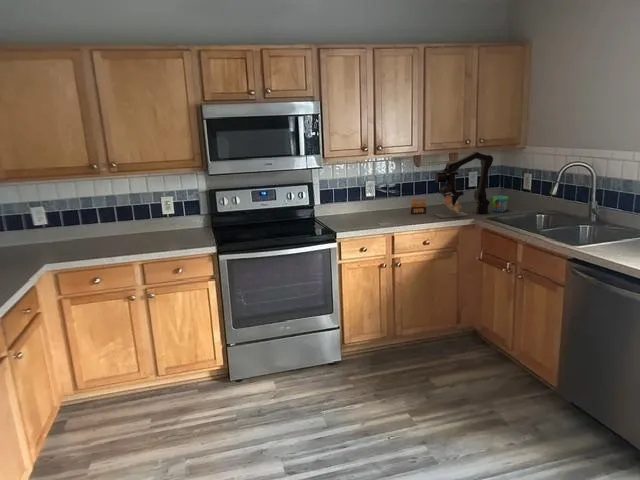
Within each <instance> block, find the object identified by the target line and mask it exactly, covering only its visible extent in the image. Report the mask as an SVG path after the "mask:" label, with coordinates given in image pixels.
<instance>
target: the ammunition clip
mask: <svg viewBox="0 0 640 480" xmlns="http://www.w3.org/2000/svg"><path fill="white" fill-rule="evenodd" d="M426 201H427V200H426V197H425V196H424V197H423V196H421V197H420V196H419V197H411V201H410V215H426V214H427V202H426Z"/></svg>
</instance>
